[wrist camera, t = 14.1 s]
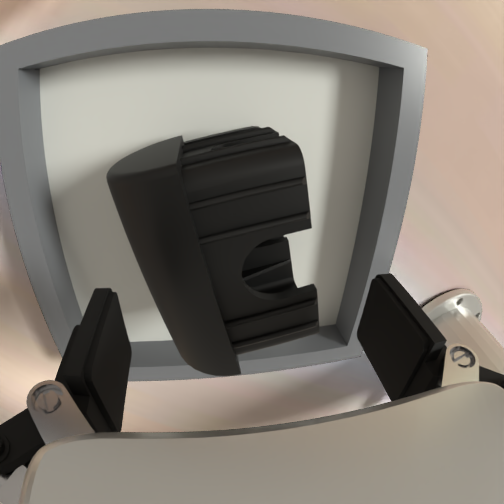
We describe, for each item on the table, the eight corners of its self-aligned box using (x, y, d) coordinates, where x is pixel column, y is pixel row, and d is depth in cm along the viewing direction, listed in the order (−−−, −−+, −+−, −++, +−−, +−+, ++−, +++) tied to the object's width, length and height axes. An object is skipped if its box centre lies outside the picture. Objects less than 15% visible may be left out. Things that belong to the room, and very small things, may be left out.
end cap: (123, 149, 15) (83, 193, 9) (261, 114, 15) (307, 136, 9) (178, 303, 20) (179, 389, 14) (287, 275, 20) (324, 354, 14)
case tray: (345, 330, 25) (360, 356, 22) (81, 350, 21) (73, 380, 19) (396, 49, 15) (427, 48, 12) (22, 50, 11) (-6, 47, 8)
